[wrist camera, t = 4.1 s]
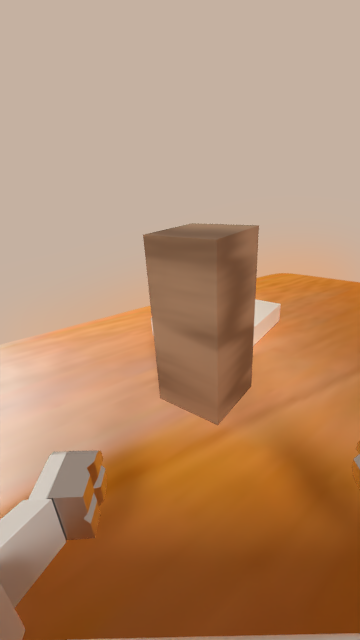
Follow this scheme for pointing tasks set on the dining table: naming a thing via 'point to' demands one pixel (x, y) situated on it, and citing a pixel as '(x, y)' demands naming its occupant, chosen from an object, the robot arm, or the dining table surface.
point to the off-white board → (262, 318)
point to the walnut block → (203, 314)
